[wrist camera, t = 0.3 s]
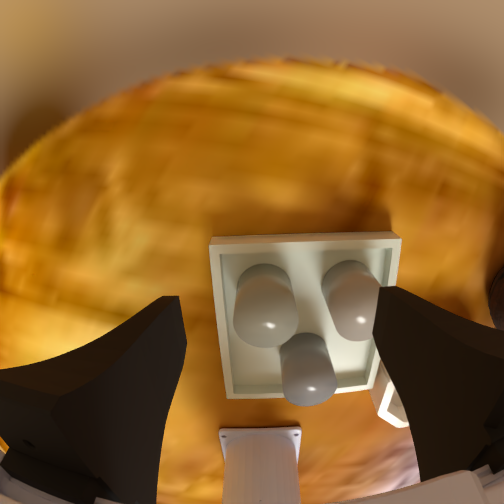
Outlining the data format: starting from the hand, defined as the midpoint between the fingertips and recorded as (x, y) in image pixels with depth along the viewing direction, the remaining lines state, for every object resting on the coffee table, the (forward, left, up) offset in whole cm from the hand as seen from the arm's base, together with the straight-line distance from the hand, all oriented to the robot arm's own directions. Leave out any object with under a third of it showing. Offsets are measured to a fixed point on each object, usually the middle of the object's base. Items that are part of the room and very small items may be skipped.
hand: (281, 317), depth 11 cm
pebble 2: (-4, -5, -9) cm, 11 cm away
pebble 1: (-3, 0, -9) cm, 10 cm away
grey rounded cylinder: (-9, -2, -9) cm, 13 cm away
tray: (-7, -2, -10) cm, 12 cm away
